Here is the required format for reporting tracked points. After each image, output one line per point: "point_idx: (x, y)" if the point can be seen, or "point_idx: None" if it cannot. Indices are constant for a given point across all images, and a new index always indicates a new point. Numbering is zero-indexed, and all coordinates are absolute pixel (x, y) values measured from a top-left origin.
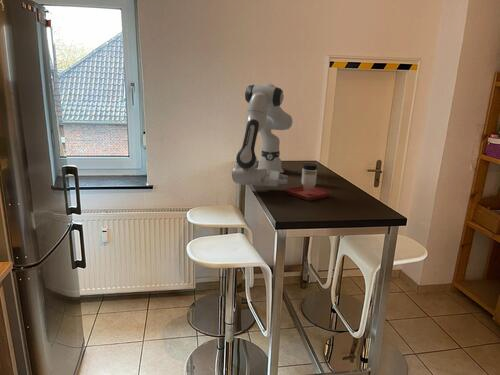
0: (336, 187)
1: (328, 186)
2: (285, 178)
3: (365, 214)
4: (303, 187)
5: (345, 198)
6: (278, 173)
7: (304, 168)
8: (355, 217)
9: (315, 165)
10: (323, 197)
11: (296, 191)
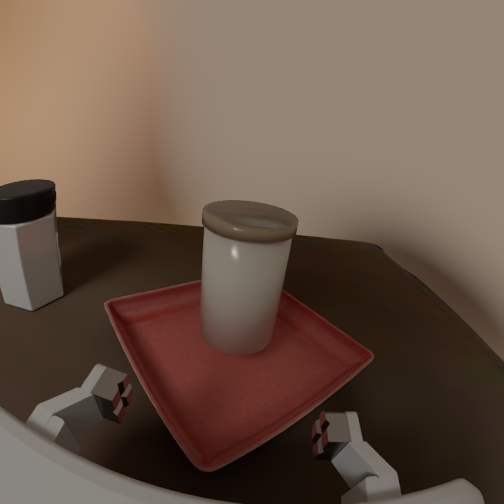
0: (116, 244)
1: (95, 254)
2: (124, 410)
3: (388, 272)
4: (246, 340)
5: None
6: (45, 449)
7: (14, 219)
8: (422, 291)
9: (50, 182)
10: None
11: (161, 392)
